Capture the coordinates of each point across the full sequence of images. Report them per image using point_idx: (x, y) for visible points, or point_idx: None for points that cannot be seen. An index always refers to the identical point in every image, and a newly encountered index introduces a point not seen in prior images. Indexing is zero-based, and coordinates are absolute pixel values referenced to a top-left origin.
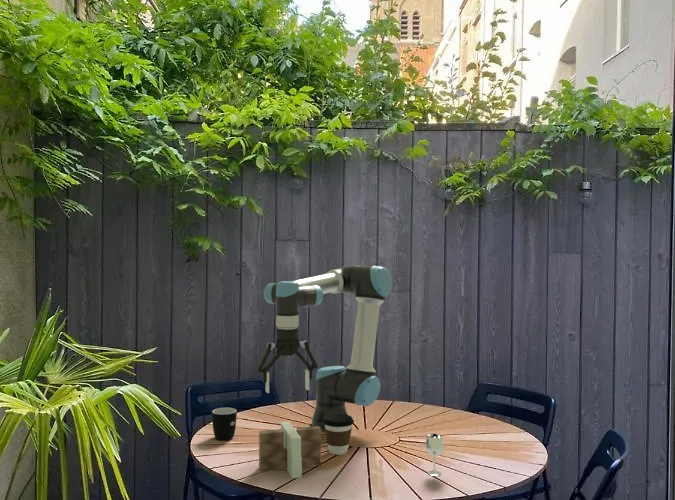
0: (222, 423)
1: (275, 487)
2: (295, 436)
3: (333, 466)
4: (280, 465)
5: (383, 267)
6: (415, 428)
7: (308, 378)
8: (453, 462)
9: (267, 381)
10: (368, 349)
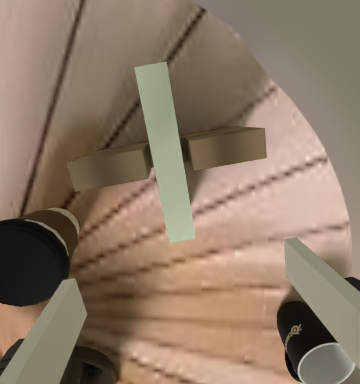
0: (320, 324)
1: (204, 20)
2: (153, 87)
3: (69, 138)
4: (190, 134)
5: None
6: None
7: (33, 333)
8: None
9: (336, 275)
10: None
